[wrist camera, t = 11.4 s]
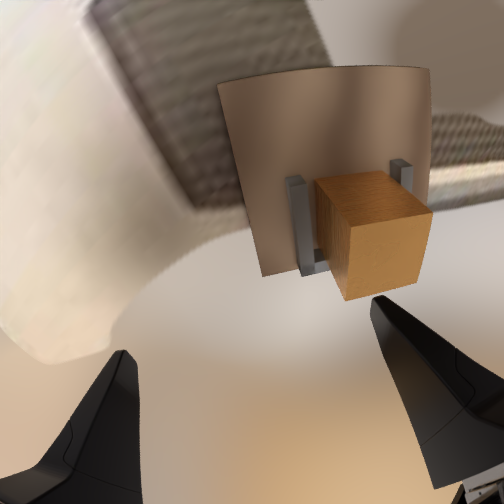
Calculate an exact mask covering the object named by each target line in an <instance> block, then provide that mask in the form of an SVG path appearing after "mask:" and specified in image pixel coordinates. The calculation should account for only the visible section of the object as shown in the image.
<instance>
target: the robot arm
mask: <svg viewBox="0 0 504 504" xmlns="http://www.w3.org/2000/svg"><path fill="white" fill-rule="evenodd" d="M370 317H371V321H372V323H373V327H374V330H375V333H376V335H377V339H378V342H379V345H380V348H381V351H382V354H383V357H384V359H385V361H386V363H387V366H388V368H389V370H390V372H391V375H392V377H393V380H394V382H395V384H396V387H397V389H398V392H399V394H400V396H401V398H402V401H403V404H404V406H405V408H406V411H407V414H408V416H409V418H410V421H411V424H412V427H413V429H414V432H415V434H416V437H417V440H418V443H419V445H420V448H421V451H422V454H423V457H424V459H425V463H426V466H427V469H428V472H429V475H430V478H431V481H432V484H433V487H434V489H438V488H441V487H445V486H447V485H450V484H453V483H456V482H459V481H462V482H463V483H462V484H461V485H460V487H459V489H458V491H457V493H456V495H455V497H454V499H453V501H452V503H451V504H504V379H503V378H501V377H499V376H498V375H496V374H494V373H493V372H491V371H489V370H488V369H486V368H484V367H483V366H481V365H480V364H478V363H477V362H475V361H474V360H472V359H471V358H469V357H468V356H466V355H465V354H464V353H463V352H461V351H460V350H459V349H457V348H455V347H454V346H453V345H452V344H451V343H449V342H447V340H445V339H444V338H443V337H441V336H440V335H439V334H437V333H436V332H435V331H433V330H432V329H430V328H429V327H428V326H426V325H425V324H424V323H422V322H421V321H419V320H418V319H417V318H415V317H414V316H413V315H411V314H410V313H408V312H407V311H405V310H404V309H403V308H401V307H400V306H398V305H397V304H395V303H394V302H393V301H391V300H390V299H389V298H387V297H386V296H384V295H380V296H377V297H374V298H373V299H372V303H371V309H370ZM139 414H140V397H139V383H138V367H137V363H136V361H135V360H134V359H133V357H132V356H131V355H130V354H129V353H128V352H127V351H126V350H117V351H115V352H114V354H113V355H112V356H111V358H110V359H109V361H108V362H107V363H106V365H105V366H104V368H103V369H102V371H101V372H100V374H99V375H98V377H97V378H96V379H95V381H94V382H93V384H92V385H91V387H90V388H89V390H88V391H87V393H86V394H85V396H84V397H83V399H82V401H81V402H80V403H79V405H78V407H77V408H76V410H75V411H74V413H73V414H72V416H71V417H70V420H68V422H67V423H66V425H65V427H64V428H63V430H62V431H61V433H60V434H59V436H58V437H57V438H56V440H55V441H54V443H53V444H52V445H51V447H50V448H49V449H48V451H47V452H46V453H45V455H44V456H43V457H42V459H41V460H40V461H39V462H38V464H36V465H35V466H34V467H32V468H30V469H28V470H25V471H22V472H20V473H17V474H14V475H11V476H8V477H5V478H2V479H0V504H143V499H142V488H141V471H140V443H139V442H140V440H139V439H140V435H139V424H140V423H139V422H140V420H139V418H140V415H139Z"/></svg>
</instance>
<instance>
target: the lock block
mask: <svg viewBox="0 0 504 504" xmlns="http://www.w3.org/2000/svg"><path fill="white" fill-rule="evenodd" d="M314 184H315V204H316V231H317V244H318V246H319V248H320V250H321V252H322V254H323V256H324V258H325V260H326V262H327V264H328V266H329V268H330V270H331V272H332V274H333V276H334V279H335V281H336V283H337V285H338V287H339V289H340V291H341V293H342V296H343V298H344V300H345V301H348V300H353V299H356V298H361V297H365V296H369V295H372V294H377V293H380V292H384V291H388V290H391V289H396V288H399V287H403V286H406V285H410V284H414V283H416V282H417V279H418V276H419V273H420V269H421V265H422V261H423V257H424V253H425V249H426V245H427V241H428V236H429V231H430V227H431V222H432V217H433V212H432V211H431V210H430V209H429V208H427V207H426V206H425V205H424V204H423V203H422V202H421V201H419V200H418V199H417V198H416V197H415V196H414V195H412V194H411V193H410V192H409V191H408V190H406V189H405V188H404V187H403V186H402V185H400V184H399V183H398V182H397V181H395V180H394V179H393V178H392V177H390V176H389V175H388V174H387V173H385V172H384V171H383V170H380V171H371V172H362V173H353V174H345V175H338V176H330V177H323V178H316V179H314Z"/></svg>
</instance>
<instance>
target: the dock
mask: <svg viewBox="0 0 504 504" xmlns="http://www.w3.org/2000/svg"><path fill="white" fill-rule="evenodd" d="M217 88H218V92H219V96H220V100H221V104H222V108H223V112H224V117H225V121H226V125H227V129H228V133H229V137H230V142H231V146H232V150H233V154H234V158H235V163H236V167H237V171H238V175H239V179H240V184H241V188H242V192H243V196H244V200H245V205H246V209H247V213H248V217H249V222H250V226H251V230H252V234H253V239H254V243H255V247H256V251H257V255H258V260H259V264H260V268H261V273H262V277H265V276H269V275H273V274H278V273H282V272H287V271H291V270H295V269H299V270H300V273H301V276H302V277H304V276H308V275H312V274H316V273H320V272H325V271H329V270H330V268H329V266H328V264H327V262H326V260H325V258H324V256H323V254H322V252H321V250H320V248H319V246H318V244H317V231H316V204H315V184H314V179H316V178H323V177H330V176H338V175H345V174H353V173H362V172H371V171H380V170H383V171H384V172H385V173H387V174H388V175H389V176H390V177H392V178H393V179H394V180H395V181H397V182H398V183H399V184H400V185H402V186H403V187H404V188H405V189H406V190H408V191H409V192H410V193H411V194H412V195H414V196H415V197H416V198H417V199H418V200H419V201H421V202H422V203H423V204H424V205H425V206H426V204H427V196H428V186H429V174H430V160H431V130H432V115H431V87H430V73H429V69H427V68H420V67H407V66H381V65H367V66H365V65H363V66H335V67H320V68H309V69H299V70H291V71H283V72H276V73H270V74H263V75H257V76H252V77H247V78H241V79H236V80H232V81H227V82H223V83H218V84H217Z"/></svg>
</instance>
